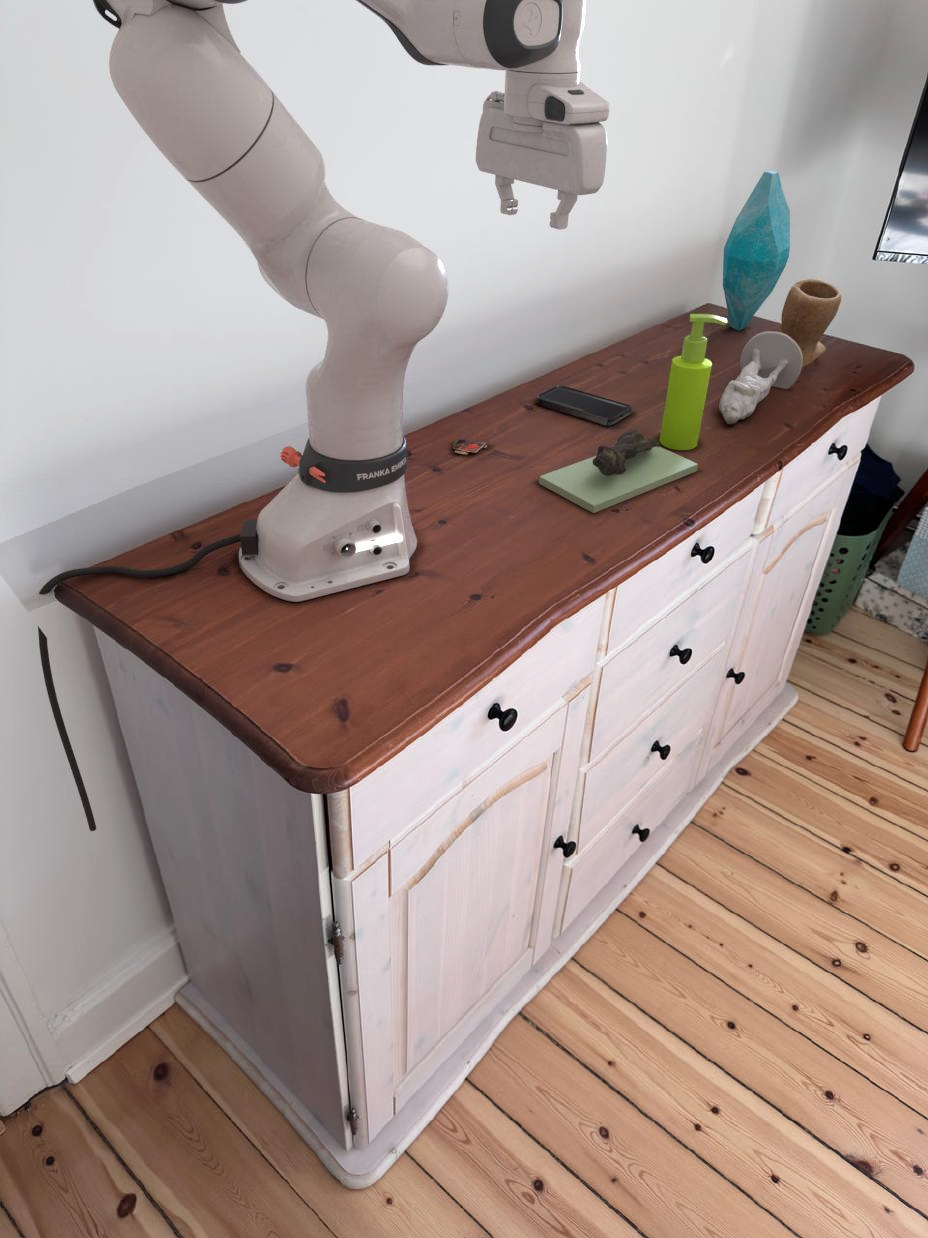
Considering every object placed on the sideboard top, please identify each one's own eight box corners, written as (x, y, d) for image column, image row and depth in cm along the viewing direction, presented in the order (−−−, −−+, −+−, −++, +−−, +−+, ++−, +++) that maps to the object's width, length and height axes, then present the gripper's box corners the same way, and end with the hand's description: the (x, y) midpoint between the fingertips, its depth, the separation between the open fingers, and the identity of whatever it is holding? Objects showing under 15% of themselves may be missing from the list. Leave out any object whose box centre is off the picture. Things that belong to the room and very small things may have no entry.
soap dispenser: (703, 452, 143) (728, 323, 131) (658, 448, 144) (679, 319, 132) (703, 437, 148) (727, 311, 136) (659, 433, 149) (679, 307, 137)
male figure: (811, 335, 161) (764, 385, 144) (799, 387, 167) (752, 442, 150) (749, 322, 165) (697, 370, 149) (739, 374, 171) (688, 425, 155)
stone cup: (809, 378, 171) (829, 296, 162) (749, 363, 177) (766, 282, 168) (839, 358, 180) (860, 279, 172) (782, 344, 186) (799, 267, 178)
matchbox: (455, 440, 144) (455, 437, 144) (488, 443, 143) (488, 441, 143) (449, 453, 140) (450, 450, 140) (483, 456, 140) (483, 453, 139)
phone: (558, 384, 162) (634, 406, 154) (558, 390, 162) (633, 412, 155) (533, 397, 156) (610, 420, 149) (533, 403, 157) (609, 426, 150)
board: (593, 513, 126) (594, 505, 125) (538, 483, 133) (539, 476, 132) (696, 471, 138) (698, 463, 137) (641, 445, 145) (642, 438, 144)
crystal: (781, 326, 196) (816, 171, 179) (753, 341, 187) (787, 180, 170) (728, 313, 202) (757, 163, 185) (699, 328, 193) (726, 171, 176)
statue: (623, 458, 144) (577, 485, 127) (625, 423, 142) (578, 445, 125) (663, 461, 141) (621, 488, 124) (665, 425, 139) (623, 448, 123)
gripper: (465, 90, 116) (463, 208, 124) (581, 109, 103) (570, 239, 111) (503, 87, 119) (498, 203, 127) (620, 105, 106) (606, 233, 114)
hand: (532, 220), depth 119 cm, fingers open, 8 cm apart
